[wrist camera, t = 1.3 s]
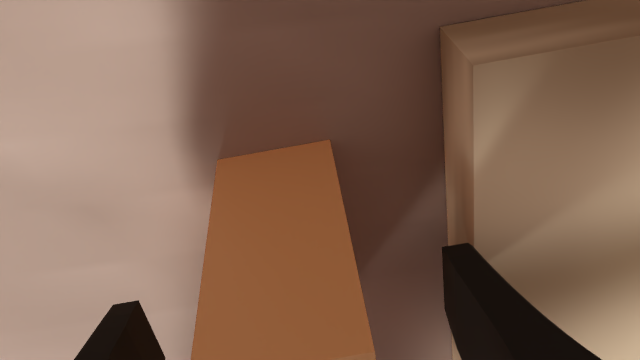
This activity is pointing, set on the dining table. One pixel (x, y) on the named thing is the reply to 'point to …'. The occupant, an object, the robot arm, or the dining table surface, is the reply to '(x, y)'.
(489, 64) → the notched board
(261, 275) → the orange brown rectangular block
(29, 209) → the dining table surface
